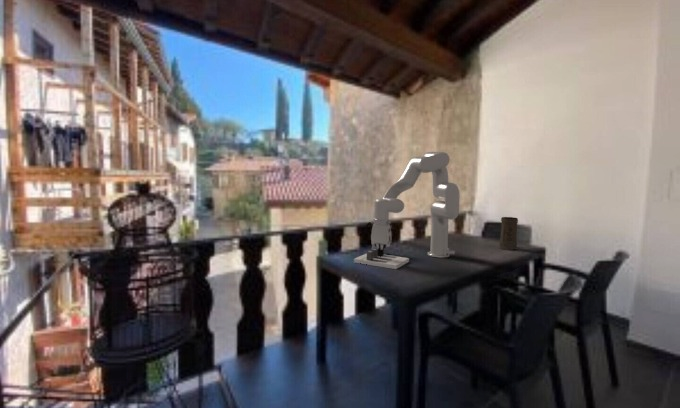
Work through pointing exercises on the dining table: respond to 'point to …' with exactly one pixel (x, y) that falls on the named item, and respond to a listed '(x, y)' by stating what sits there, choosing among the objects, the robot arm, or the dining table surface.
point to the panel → (383, 261)
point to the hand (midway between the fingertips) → (380, 256)
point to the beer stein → (508, 233)
